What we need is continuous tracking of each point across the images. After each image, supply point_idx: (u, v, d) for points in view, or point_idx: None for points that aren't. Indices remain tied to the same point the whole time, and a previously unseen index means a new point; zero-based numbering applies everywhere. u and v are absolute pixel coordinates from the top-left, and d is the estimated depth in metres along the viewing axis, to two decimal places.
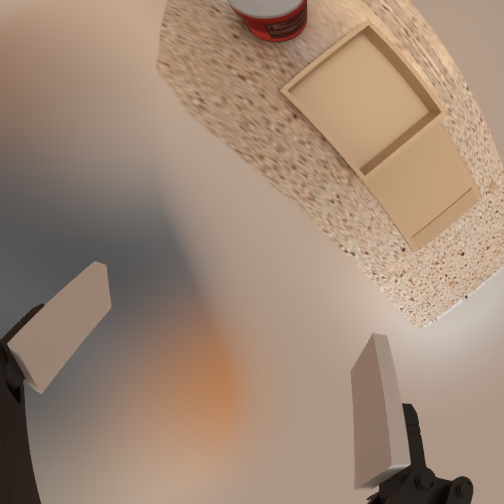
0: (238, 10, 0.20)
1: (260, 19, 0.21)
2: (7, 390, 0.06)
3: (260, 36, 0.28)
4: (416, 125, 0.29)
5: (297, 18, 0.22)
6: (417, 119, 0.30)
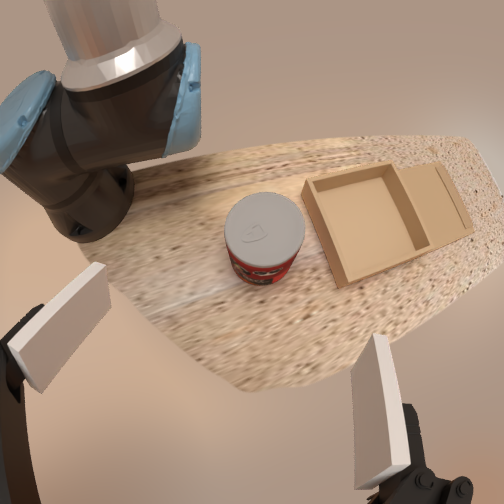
0: (280, 262, 0.27)
1: (297, 251, 0.28)
2: (7, 390, 0.06)
3: (281, 277, 0.36)
4: (393, 190, 0.40)
5: None
6: (386, 189, 0.41)
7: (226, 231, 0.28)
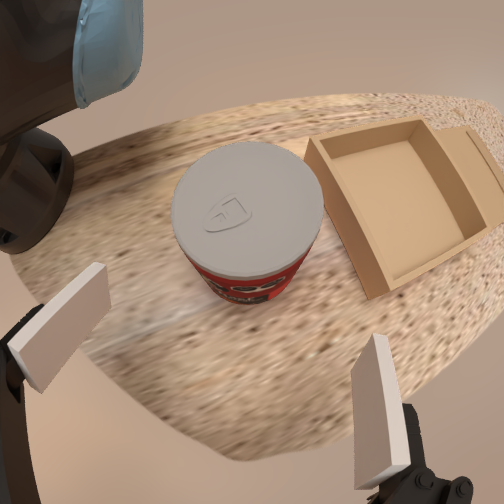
0: (282, 268, 0.14)
1: (312, 244, 0.15)
2: (7, 390, 0.06)
3: (281, 290, 0.22)
4: (427, 156, 0.26)
5: None
6: (416, 155, 0.28)
7: (174, 214, 0.14)
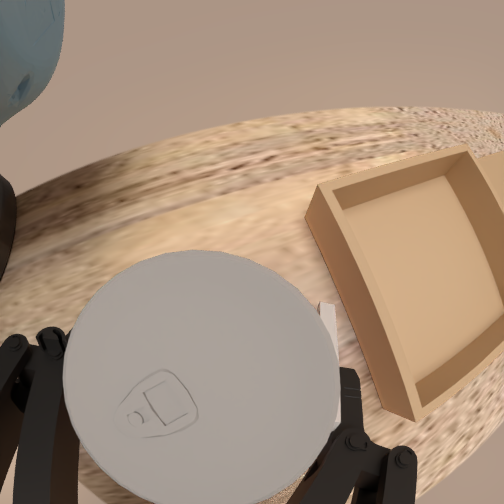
0: None
1: None
2: None
3: None
4: (469, 201, 0.19)
5: None
6: (455, 197, 0.20)
7: (68, 398, 0.06)
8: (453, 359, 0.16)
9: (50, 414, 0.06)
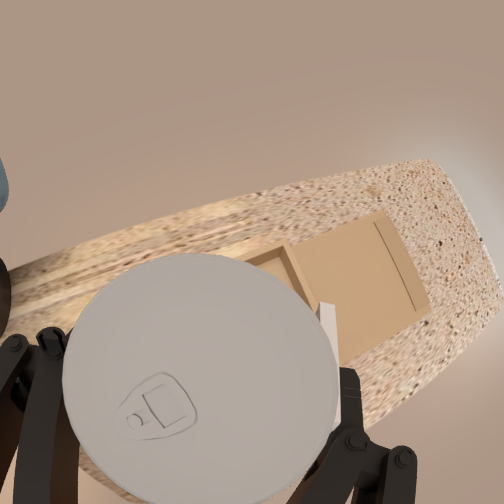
0: None
1: None
2: None
3: None
4: (292, 280, 0.30)
5: None
6: (285, 275, 0.31)
7: (67, 400, 0.06)
8: None
9: (50, 414, 0.06)
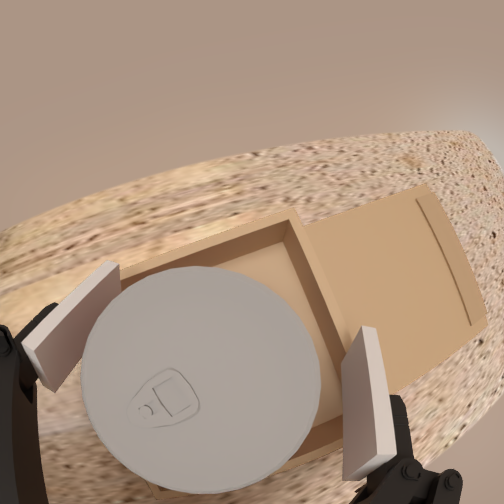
0: None
1: None
2: (20, 390, 0.07)
3: None
4: (303, 278, 0.19)
5: None
6: (291, 270, 0.20)
7: (85, 395, 0.08)
8: None
9: (5, 407, 0.05)
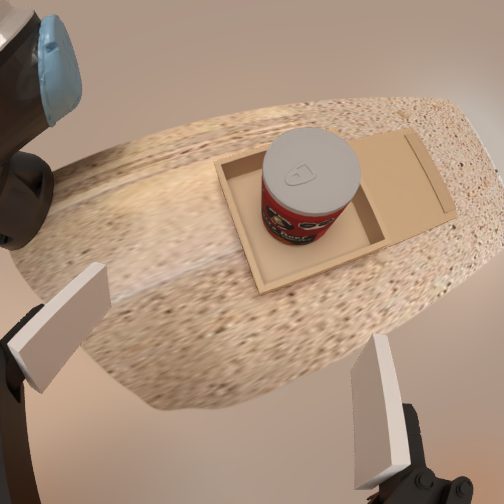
0: (336, 209, 0.21)
1: (353, 196, 0.22)
2: (7, 390, 0.06)
3: (323, 234, 0.30)
4: None
5: None
6: None
7: (266, 172, 0.21)
8: None
9: None
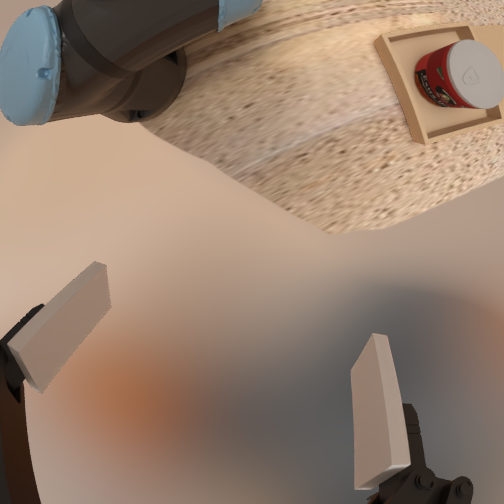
0: None
1: None
2: (7, 390, 0.06)
3: None
4: None
5: None
6: None
7: (452, 72, 0.18)
8: (450, 127, 0.29)
9: None
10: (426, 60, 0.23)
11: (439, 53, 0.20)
